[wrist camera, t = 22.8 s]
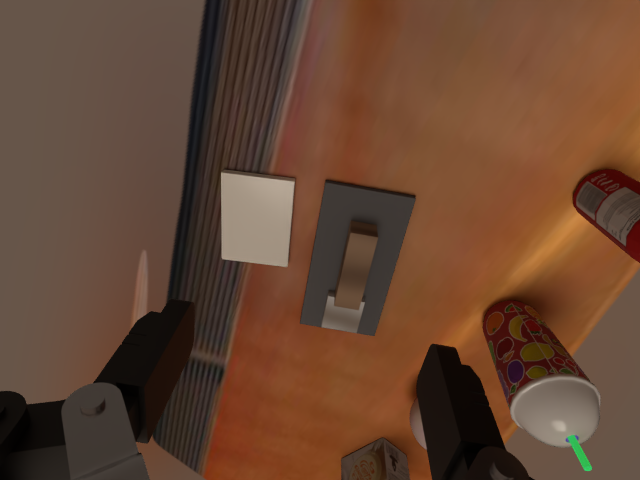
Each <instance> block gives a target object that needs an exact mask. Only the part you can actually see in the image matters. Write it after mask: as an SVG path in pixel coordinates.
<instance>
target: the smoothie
mask: <svg viewBox="0 0 640 480" xmlns="http://www.w3.org/2000/svg"><path fill="white" fill-rule="evenodd" d="M483 332H484V335H485V338H486V341H487V344H488V347H489V350H490V353H491V356H492V359H493V362H494V365H495V368H496V371H497V374H498V377H499V380H500V382H501V385H502V388H503V391H504V394H505V397H506V400H507V403H508V406H509V409H510V412H511V417H512V419H513V420H514V422H515V423H516V424H517V425H518V426H519V427H521V428H522V429H524V430H525V431H526V432H528V433H529V434H530V435H531V436H533V437H535V438H536V439H538V440H539V441H541V442H543V443H545V444H548V445H551V446H554V447H565V448H567V447H573V449H574V451H575V453H576V455H577V457H578V459H579V461H580V462H581V464H582V466H583V468H584V470H585V471H590V470H591V469H592V467H591V465H590V463H589V461H588V459H587V458H586V456H585V454H584V452H583V450H582V448H581V447H580V444H582V443H584V442H586V441H587V440H588V439H589V438H590V437H591V436H592V435H593V434H594V433H595V431H596V428H597V426H598V424H599V420H600V408H599V407H600V405H601V402H600V401H601V399H600V393H599V391H598V390H597V388H596V386H595V385H594V384H593V383H591V382H590V380H589V379H588V378H587V376H586V375H585V374H584V372H583V371H582V370H581V369H580V367H579V366H578V365H577V364H576V362H575V361H574V360H573V358H572V357H571V356H570V354H569V353H568V352H567V350H566V349H565V348H564V347H563V345H562V344H561V343H560V341H559V340H558V339H557V338H556V336H555V335H554V334H553V332H552V331H551V330H550V329H549V327H548V326H547V325H546V323H545V322H544V321H543V320H542V318H541V317H540V316H539V314H538V313H537V312H536V310H535V309H533V308H532V307H530V306H529V305H526V304H524V303H522V302H519V301H515V300H507V301H503V302H500V303H498V304H496V305H494V306H493V307H492V308H490V309H489V310H488V312H487V313H486V315H485V320H484V323H483Z"/></svg>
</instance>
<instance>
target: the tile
mask: <svg viewBox="0 0 640 480" xmlns="http://www.w3.org/2000/svg"><path fill="white" fill-rule="evenodd" d="M295 179H296V178H288V177H280V176H272V175H264V174H256V173H248V172H240V171H232V170H223V171H222V172H221V208H222V259H227V260H235V261H243V262H251V263H259V264H267V265H275V266H283V267H287V266H288V262H289V250H290V238H291V226H292V214H293V202H294V190H295Z"/></svg>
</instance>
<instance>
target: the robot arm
mask: <svg viewBox="0 0 640 480" xmlns="http://www.w3.org/2000/svg"><path fill="white" fill-rule="evenodd" d="M194 322H195V305H194V303H193V302H189V301H183V300H177V299H170V300H169V301H168V303H167V304H166V306H165V307H164V309H163V310H162V312H161V313H158V312H153V311H151V312H149V313H148V314H146V315H145V316H143V317H142V318H140V319H139V320H137V322H136V323H135V325H134V326H133V328H132V329H131V330H130V332H129V335H127V336H126V337H125V339H124V340H123V342H122V345H120V346H119V347H118V349H117V350H116V352H115V353H114V355H113V356H112V357H111V359H110V360H109V362H108V363H107V364H106V366H105V367H104V369H103V370H102V372H101V373H100V375H99V376H98V377H97V379H96V380H95V381H94V382H93V384H89V385H86V386H83V387H81V388H79V389H78V390H76V391H74V392H73V393H72V394H71V395H70V396H69V397H68V398H67V399H65V400H61V401H55V402H45V403H38V404H37V403H36V404H26V401H25V398H24V397H23V396H22V395H20V394H19V393H16V392H12V391H1V392H0V480H150V479H149V476H148V472H147V469H146V465H145V462H144V459H143V456H142V454H141V453H139V452H138V449H137V445H136V442H141V443H148V442H149V440H150V438H151V436H152V434H153V432H154V430H155V428H156V425H157V423H158V421H159V419H160V417H161V415H162V413H163V411H164V409H165V406H166V404H167V402H168V400H169V398H170V396H171V394H172V392H173V390H174V388H175V385H176V383H177V381H178V379H179V377H180V375H181V373H182V371H183V369H184V366H185V364H186V362H187V360H188V358H189V356H190V353H191V350H192V347H193V342H194ZM416 389H417V398H418V404H419V409H420V415H421V420H422V426H423V431H424V437H425V442H426V447H427V453H428V458H429V464H430V469H431V475H432V480H534V479H532V478H531V477H529V475H528V473H527V471H526V469H525V468H524V466H523V465H522V464H521V462H520V461H519V460H518V459H517V458H516V457H515V456H513V455H512V454H511V453H509V452H507V451H506V449H505V446H504V443H503V440H502V438H501V435H500V432H499V429H498V427H497V424H496V421H495V419H494V416H493V413H492V410H491V408H490V407H489V402H488V399H487V397H486V396H485V391H484V389H483V386H482V383H481V380H480V378H479V377H478V376H477V375H476V373H475V372H474V371H473V370H472V368H471V367H470V366H468V365H462V364H461V361H460V358H459V355H458V352H457V350H456V348H454V347H449V346H443V345H438V344H431V346H430V347H429V350H428V352H427V355H426V357H425V360H424V362H423V365H422V367H421V370H420V373H419V375H418V379H417V388H416Z"/></svg>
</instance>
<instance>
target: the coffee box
mask: <svg viewBox="0 0 640 480" xmlns="http://www.w3.org/2000/svg"><path fill="white" fill-rule="evenodd" d="M341 463H342V464H341V471H342V472H341V480H410V477H409V469H408V462H407V456H406V455H405V454H404V453H402V452H401V451H400V450H399V449H397V448H396V447H395V446H393V445H392V444H391V443H390V442H388V441H387V440H386V439H385V438H381V439H379V440H377V441H375V442H373V443H371V444H369V445H367V446H365V447H363V448H361V449H360V450H358V451H356V452H354V453H352V454H350V455H348V456H346V457H344V458H342V460H341Z"/></svg>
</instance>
